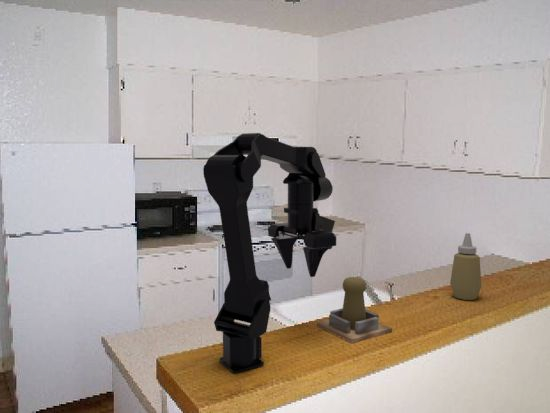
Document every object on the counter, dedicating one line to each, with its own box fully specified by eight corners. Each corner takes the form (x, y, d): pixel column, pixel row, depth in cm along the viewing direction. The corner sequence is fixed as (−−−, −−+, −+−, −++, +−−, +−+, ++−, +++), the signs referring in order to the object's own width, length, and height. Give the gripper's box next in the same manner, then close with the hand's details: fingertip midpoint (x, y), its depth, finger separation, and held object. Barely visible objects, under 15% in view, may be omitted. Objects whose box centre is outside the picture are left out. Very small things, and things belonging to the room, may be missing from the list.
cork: (334, 325, 105) (335, 277, 104) (351, 318, 109) (352, 273, 108) (355, 332, 100) (356, 283, 99) (372, 325, 104) (373, 278, 103)
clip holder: (351, 343, 97) (351, 328, 96) (316, 325, 107) (316, 312, 106) (392, 331, 103) (392, 317, 103) (355, 316, 113) (355, 303, 113)
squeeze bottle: (471, 304, 122) (474, 237, 120) (443, 297, 129) (446, 233, 127) (486, 298, 127) (489, 233, 126) (459, 291, 134) (461, 230, 132)
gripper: (356, 205, 99) (355, 276, 101) (305, 198, 115) (304, 260, 116) (314, 208, 93) (314, 283, 95) (266, 201, 109) (267, 266, 110)
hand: (300, 272), depth 104 cm, fingers open, 9 cm apart
